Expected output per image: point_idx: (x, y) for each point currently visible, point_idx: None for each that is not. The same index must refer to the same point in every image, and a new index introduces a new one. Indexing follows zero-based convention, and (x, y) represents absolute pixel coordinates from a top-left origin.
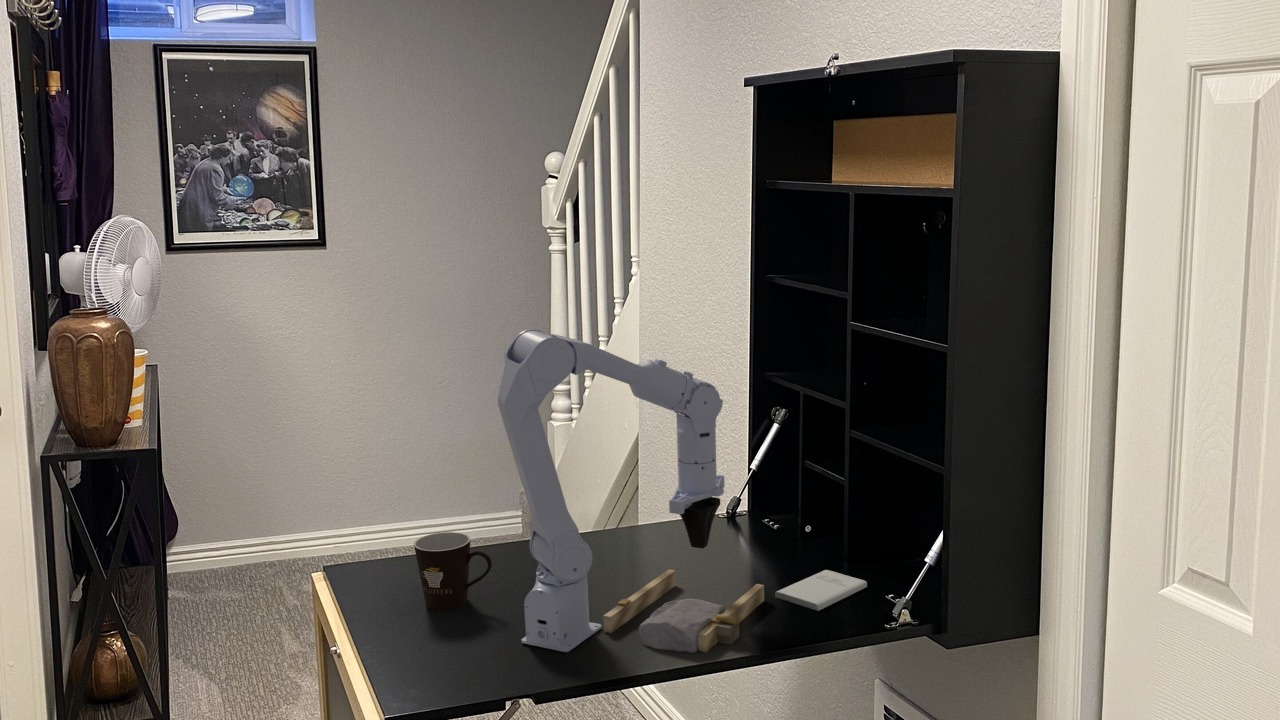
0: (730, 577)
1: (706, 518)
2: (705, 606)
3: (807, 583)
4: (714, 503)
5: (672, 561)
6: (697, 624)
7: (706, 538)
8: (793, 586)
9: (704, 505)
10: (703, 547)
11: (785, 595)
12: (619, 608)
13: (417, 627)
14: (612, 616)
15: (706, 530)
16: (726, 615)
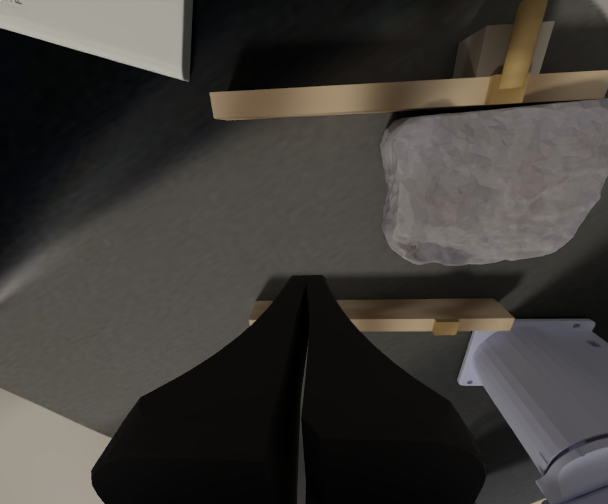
0: (161, 233)
1: (369, 360)
2: (441, 160)
3: (74, 8)
4: (269, 455)
5: (169, 347)
6: (605, 106)
7: (309, 288)
8: (122, 40)
9: (351, 490)
10: (322, 276)
11: (184, 36)
12: (469, 322)
13: (513, 473)
14: (506, 317)
15: (321, 309)
16: (459, 84)
